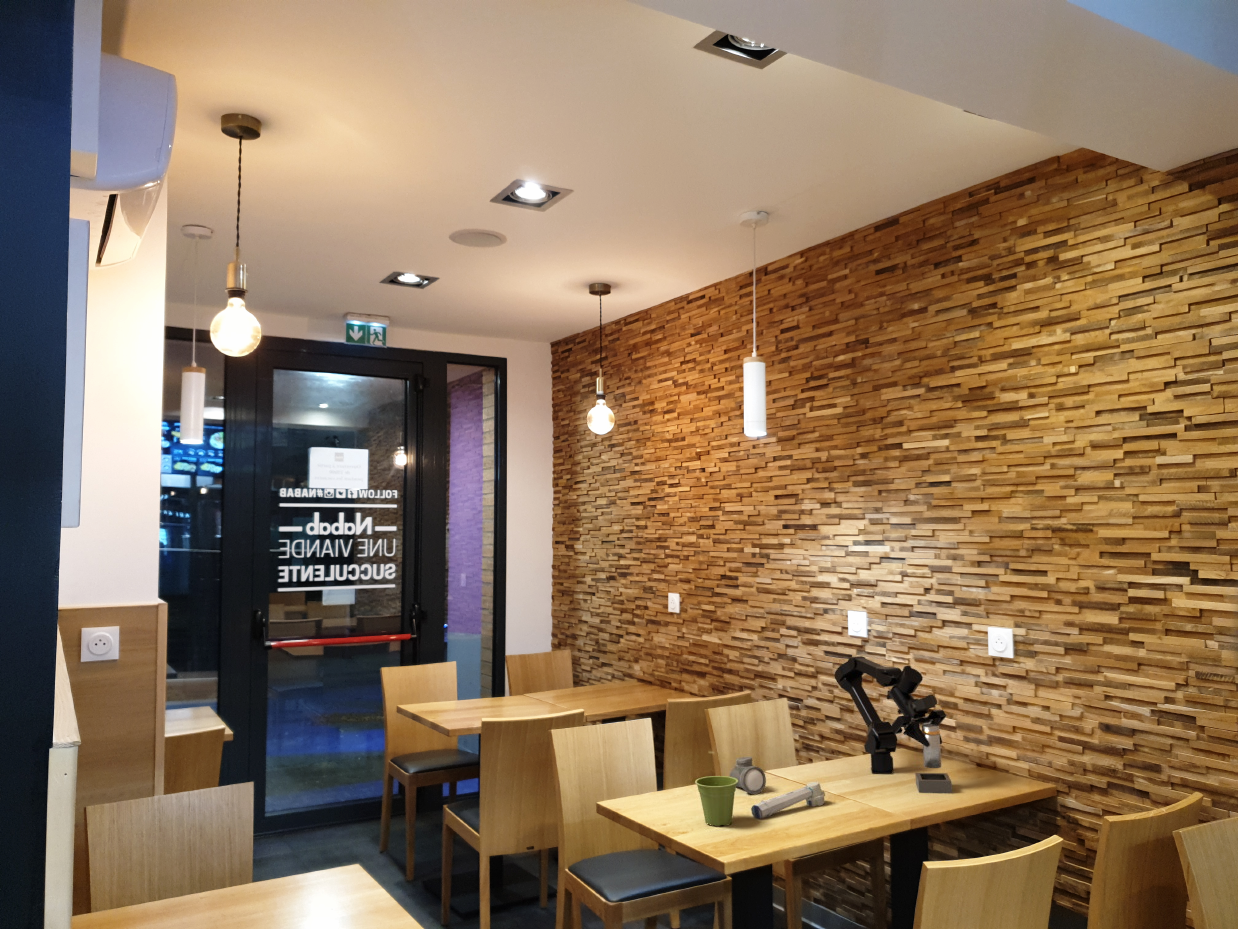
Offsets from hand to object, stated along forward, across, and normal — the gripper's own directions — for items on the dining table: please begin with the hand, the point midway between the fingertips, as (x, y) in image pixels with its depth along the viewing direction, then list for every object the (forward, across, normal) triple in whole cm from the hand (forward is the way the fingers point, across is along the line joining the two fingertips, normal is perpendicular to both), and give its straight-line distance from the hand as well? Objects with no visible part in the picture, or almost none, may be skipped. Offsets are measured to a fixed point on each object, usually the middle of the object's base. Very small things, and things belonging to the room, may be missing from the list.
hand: (934, 745), depth 278 cm
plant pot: (+2, -72, +17) cm, 74 cm away
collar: (+8, 0, +10) cm, 13 cm away
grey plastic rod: (+4, -49, +16) cm, 51 cm away
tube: (+4, 0, +6) cm, 7 cm away
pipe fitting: (-14, -46, +34) cm, 59 cm away
